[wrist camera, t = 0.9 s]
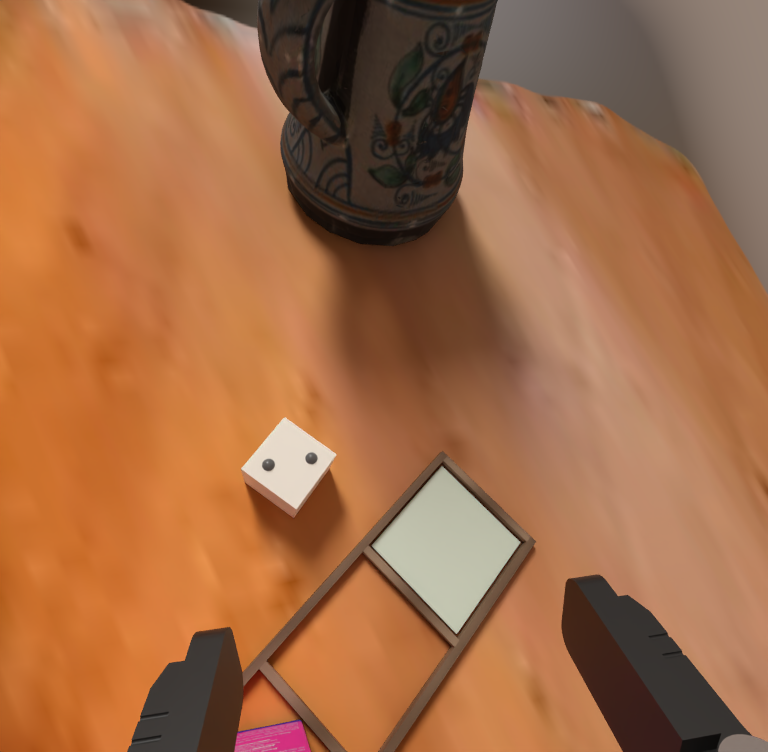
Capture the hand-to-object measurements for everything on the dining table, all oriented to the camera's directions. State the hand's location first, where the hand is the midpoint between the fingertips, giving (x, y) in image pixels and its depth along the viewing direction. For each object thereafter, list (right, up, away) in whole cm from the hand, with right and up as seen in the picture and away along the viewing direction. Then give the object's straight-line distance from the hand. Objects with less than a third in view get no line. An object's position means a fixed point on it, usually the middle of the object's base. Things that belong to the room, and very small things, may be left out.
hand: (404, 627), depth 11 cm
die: (-7, -1, +20) cm, 21 cm away
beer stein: (-2, +23, +32) cm, 40 cm away
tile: (+4, -6, +20) cm, 21 cm away
